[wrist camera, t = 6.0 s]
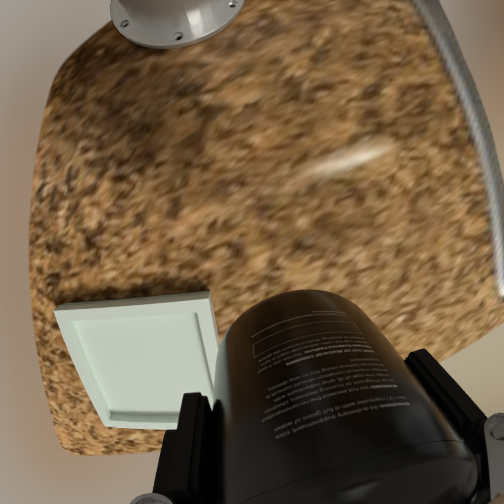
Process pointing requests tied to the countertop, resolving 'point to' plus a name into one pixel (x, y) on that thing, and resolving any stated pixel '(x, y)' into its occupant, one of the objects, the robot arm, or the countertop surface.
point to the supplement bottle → (327, 413)
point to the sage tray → (142, 355)
